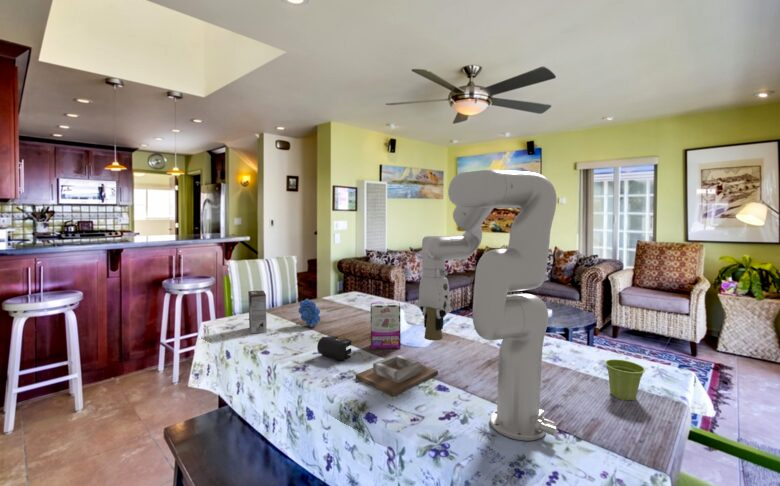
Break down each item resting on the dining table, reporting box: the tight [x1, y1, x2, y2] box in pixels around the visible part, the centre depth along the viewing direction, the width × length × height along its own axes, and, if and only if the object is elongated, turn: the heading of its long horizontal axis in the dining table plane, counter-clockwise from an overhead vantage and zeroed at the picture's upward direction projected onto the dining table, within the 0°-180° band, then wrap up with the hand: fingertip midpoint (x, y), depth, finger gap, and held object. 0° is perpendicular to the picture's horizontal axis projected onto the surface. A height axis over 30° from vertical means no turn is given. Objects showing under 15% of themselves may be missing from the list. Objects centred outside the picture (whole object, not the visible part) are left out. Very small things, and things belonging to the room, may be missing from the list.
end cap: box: [316, 335, 352, 361], centre depth 133 cm, size 10×7×7 cm
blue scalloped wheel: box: [297, 298, 322, 327], centre depth 168 cm, size 12×7×12 cm, turn 65°
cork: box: [424, 307, 443, 341], centre depth 127 cm, size 6×6×11 cm
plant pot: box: [604, 359, 646, 401], centre depth 106 cm, size 9×9×9 cm
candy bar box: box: [370, 302, 402, 350], centre depth 143 cm, size 11×5×16 cm, turn 92°
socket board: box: [355, 353, 439, 397], centre depth 118 cm, size 16×20×4 cm
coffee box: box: [248, 290, 267, 334], centre depth 163 cm, size 9×6×16 cm
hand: (433, 327), depth 127 cm, fingers closed on cork, 4 cm apart
